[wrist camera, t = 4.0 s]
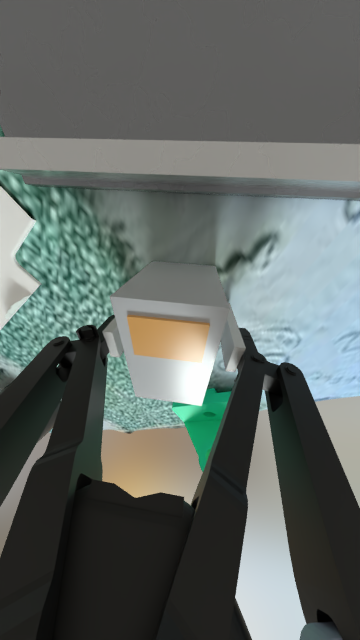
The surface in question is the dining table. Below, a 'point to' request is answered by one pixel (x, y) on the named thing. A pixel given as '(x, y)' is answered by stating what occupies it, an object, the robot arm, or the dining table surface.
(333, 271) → the dining table surface
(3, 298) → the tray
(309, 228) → the dining table surface
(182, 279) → the module
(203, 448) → the camera mount
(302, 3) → the rail
